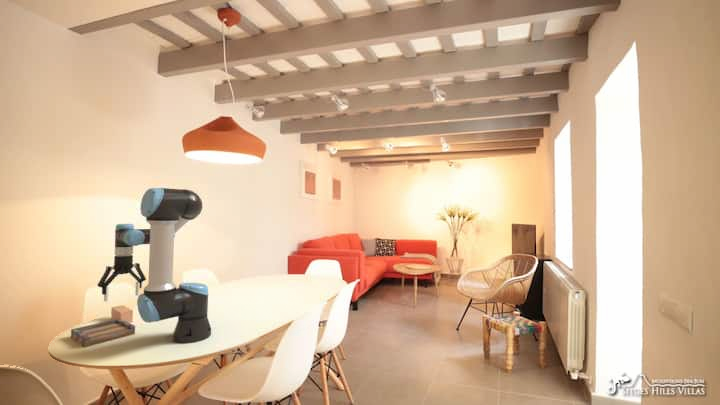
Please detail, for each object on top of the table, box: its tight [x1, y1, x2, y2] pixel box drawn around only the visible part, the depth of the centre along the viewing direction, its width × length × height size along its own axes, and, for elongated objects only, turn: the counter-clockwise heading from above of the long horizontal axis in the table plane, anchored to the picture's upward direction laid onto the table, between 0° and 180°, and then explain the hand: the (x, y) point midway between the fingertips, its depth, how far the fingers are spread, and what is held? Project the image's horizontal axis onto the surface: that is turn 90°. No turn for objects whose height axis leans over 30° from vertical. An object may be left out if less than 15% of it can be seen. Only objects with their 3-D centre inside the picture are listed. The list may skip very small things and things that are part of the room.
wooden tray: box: [70, 319, 136, 348], centre depth 148 cm, size 16×18×4 cm
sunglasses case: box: [110, 305, 134, 324], centre depth 168 cm, size 13×5×6 cm, turn 52°
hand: (122, 298), depth 168 cm, fingers open, 13 cm apart
